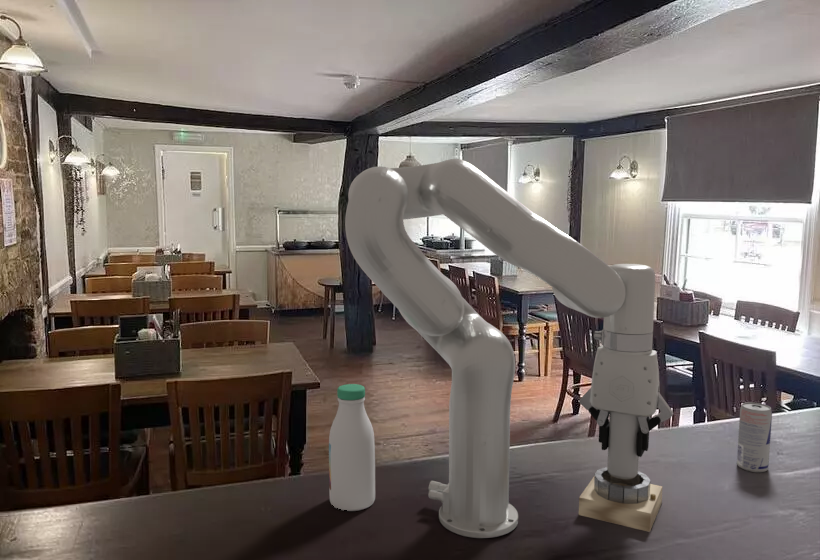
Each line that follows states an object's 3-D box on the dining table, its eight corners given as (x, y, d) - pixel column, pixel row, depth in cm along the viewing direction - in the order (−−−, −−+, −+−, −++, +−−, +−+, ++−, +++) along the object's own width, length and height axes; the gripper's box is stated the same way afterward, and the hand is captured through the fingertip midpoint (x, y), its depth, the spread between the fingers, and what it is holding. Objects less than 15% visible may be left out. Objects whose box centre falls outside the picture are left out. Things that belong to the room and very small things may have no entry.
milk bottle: (384, 501, 110) (384, 386, 108) (350, 517, 105) (349, 396, 102) (354, 487, 115) (352, 378, 113) (320, 502, 110) (318, 387, 107)
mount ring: (589, 496, 105) (589, 481, 105) (601, 476, 113) (602, 463, 112) (643, 508, 101) (644, 493, 101) (653, 487, 108) (654, 473, 108)
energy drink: (769, 465, 125) (773, 405, 123) (767, 475, 120) (771, 412, 119) (738, 459, 128) (741, 400, 126) (735, 468, 123) (738, 407, 122)
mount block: (578, 514, 105) (579, 493, 105) (595, 489, 115) (596, 469, 114) (649, 532, 100) (650, 509, 99) (661, 503, 109) (662, 482, 109)
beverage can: (639, 481, 104) (643, 409, 103) (608, 479, 105) (611, 407, 104) (635, 469, 109) (639, 400, 107) (605, 467, 110) (608, 398, 108)
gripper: (568, 340, 105) (565, 448, 107) (681, 352, 96) (675, 469, 99) (580, 332, 111) (577, 434, 113) (687, 342, 103) (682, 453, 105)
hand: (623, 449), depth 106 cm, fingers closed on beverage can, 4 cm apart
